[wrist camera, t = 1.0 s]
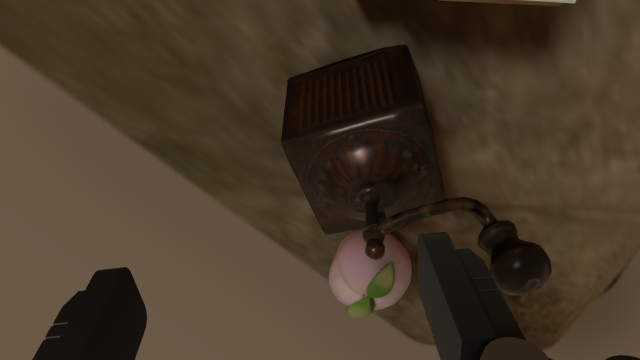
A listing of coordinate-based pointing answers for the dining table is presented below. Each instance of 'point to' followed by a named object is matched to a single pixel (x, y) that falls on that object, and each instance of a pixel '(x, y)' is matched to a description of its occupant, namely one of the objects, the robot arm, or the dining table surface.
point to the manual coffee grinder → (385, 161)
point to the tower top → (561, 0)
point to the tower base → (513, 2)
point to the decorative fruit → (369, 274)
